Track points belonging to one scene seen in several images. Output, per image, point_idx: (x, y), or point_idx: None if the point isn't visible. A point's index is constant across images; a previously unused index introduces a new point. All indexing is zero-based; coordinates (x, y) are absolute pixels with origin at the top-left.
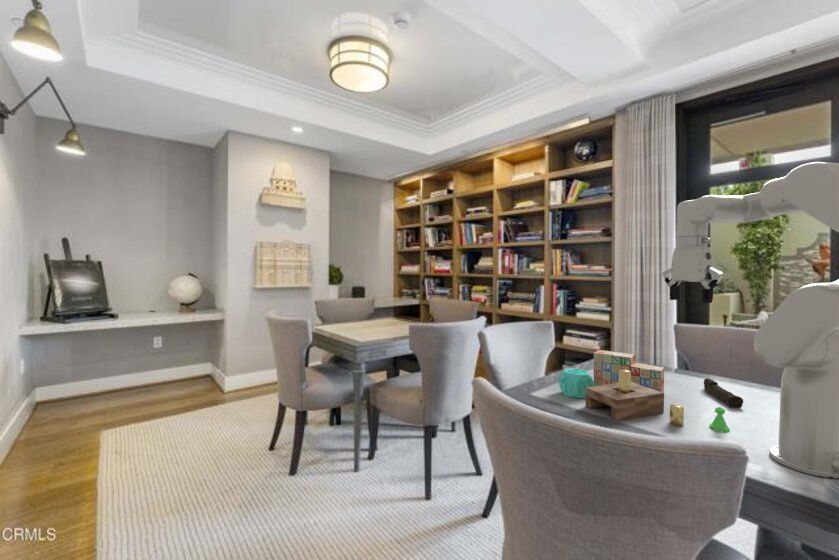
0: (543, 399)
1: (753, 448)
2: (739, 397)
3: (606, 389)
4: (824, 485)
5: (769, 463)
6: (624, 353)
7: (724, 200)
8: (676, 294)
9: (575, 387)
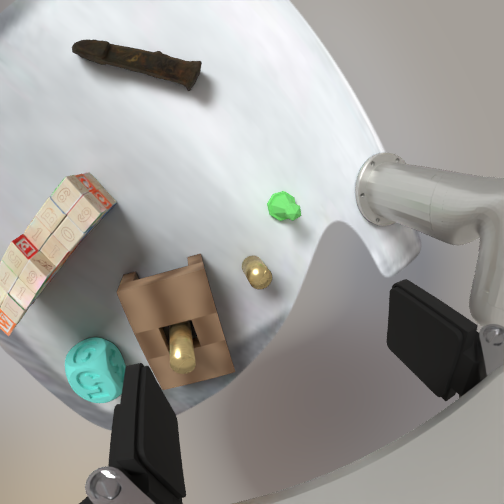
0: None
1: (344, 216)
2: (199, 67)
3: None
4: None
5: (373, 234)
6: (3, 264)
7: None
8: (161, 420)
9: None
